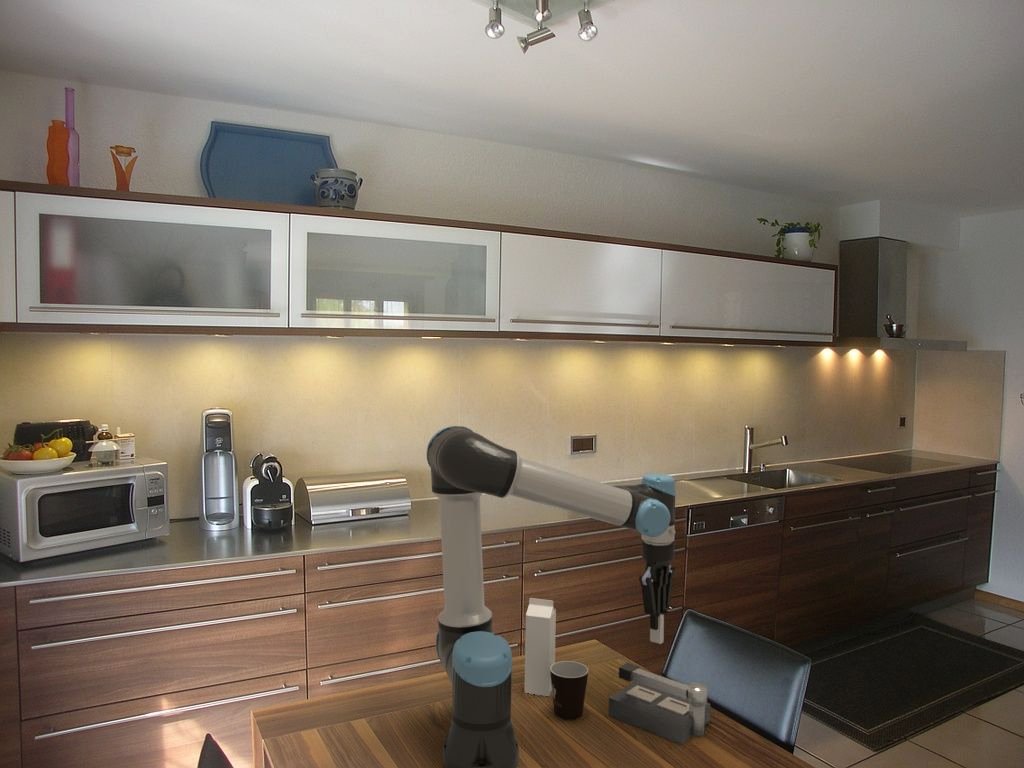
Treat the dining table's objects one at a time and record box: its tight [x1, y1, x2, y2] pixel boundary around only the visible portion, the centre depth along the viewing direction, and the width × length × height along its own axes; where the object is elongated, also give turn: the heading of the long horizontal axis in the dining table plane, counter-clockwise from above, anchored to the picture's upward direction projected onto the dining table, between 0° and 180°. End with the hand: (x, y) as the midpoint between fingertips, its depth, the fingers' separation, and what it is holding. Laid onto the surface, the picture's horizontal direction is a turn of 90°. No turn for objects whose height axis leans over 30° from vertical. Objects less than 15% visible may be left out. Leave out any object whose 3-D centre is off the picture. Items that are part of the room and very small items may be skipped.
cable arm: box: [618, 662, 708, 705], centre depth 158 cm, size 20×4×3 cm, turn 49°
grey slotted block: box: [608, 681, 711, 745], centre depth 159 cm, size 20×13×6 cm, turn 49°
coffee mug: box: [550, 660, 589, 721], centre depth 162 cm, size 12×9×10 cm
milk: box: [524, 597, 557, 698], centre depth 172 cm, size 6×6×22 cm
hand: (656, 641), depth 167 cm, fingers closed
